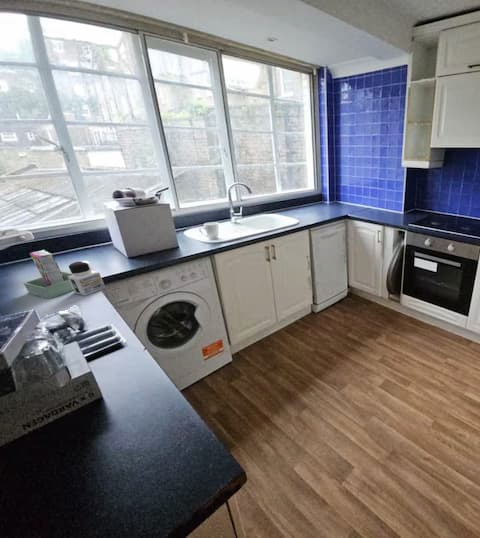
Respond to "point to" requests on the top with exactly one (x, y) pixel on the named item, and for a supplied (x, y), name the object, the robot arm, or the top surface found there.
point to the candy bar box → (47, 267)
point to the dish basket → (52, 291)
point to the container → (84, 278)
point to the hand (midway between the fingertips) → (9, 242)
